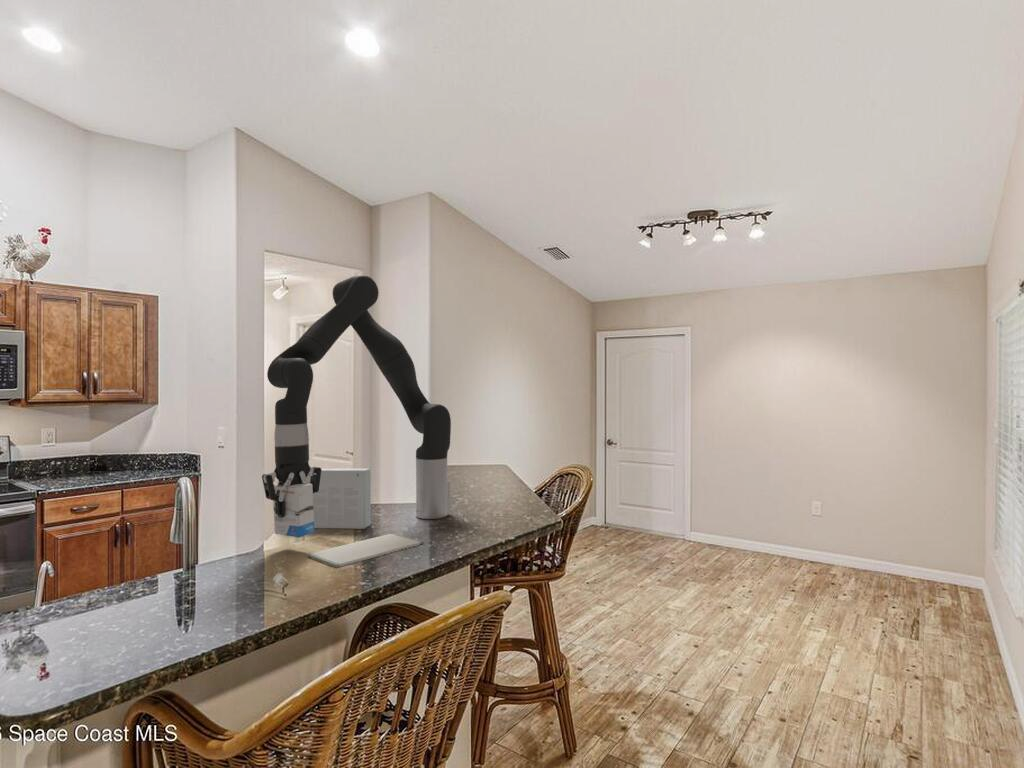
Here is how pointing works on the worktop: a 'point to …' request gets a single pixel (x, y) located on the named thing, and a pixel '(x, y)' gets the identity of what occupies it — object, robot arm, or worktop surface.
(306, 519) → the ink box
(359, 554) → the mat
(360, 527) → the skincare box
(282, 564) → the worktop surface
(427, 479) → the robot arm
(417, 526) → the worktop surface
